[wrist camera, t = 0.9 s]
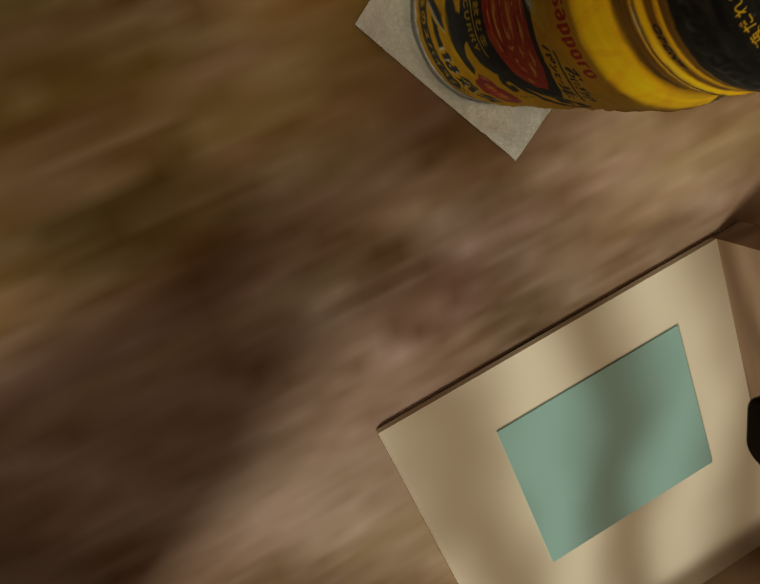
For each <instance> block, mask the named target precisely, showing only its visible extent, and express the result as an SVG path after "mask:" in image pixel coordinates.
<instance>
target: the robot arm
mask: <svg viewBox="0 0 760 584" xmlns="http://www.w3.org/2000/svg"><path fill="white" fill-rule="evenodd" d="M746 443H747V447H748V449H749V452H750V453H751V455H752V457H753V458H754V459H755V460H756V461H757V463H758V464H759V465H760V395H759V396H756V397H754V398H752V399H751V400H750V402H749V403H748V407H747V434H746Z"/></svg>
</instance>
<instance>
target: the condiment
mask: <svg viewBox="0 0 760 584" xmlns="http://www.w3.org/2000/svg"><path fill="white" fill-rule="evenodd" d="M355 25H356V26H357V27H359V28H360V29H361V30H362V31H363V32H364V33H365V34H367V35H368V36H369V37H370V38H371V39H373V40H374V41H375V42H376V43H377V44H378V45H380V46H381V47H382V48H383V49H384V50H385V51H386V52H387V53H389V54H390V55H391V56H392V57H394V58H395V59H396V60H397V61H398V62H399V63H400V64H401V65H403V66H404V67H405V68H406V69H407V70H408V71H410V72H411V73H412V74H413V75H414V76H415V77H417V78H418V79H419V80H420V81H421V82H422V83H424V84H425V85H426V86H427V87H428V88H429V89H431V90H432V91H433V92H434V93H435V94H437V95H438V96H439V97H440V98H441V99H443V100H444V101H445V102H446V103H447V104H449V105H450V106H451V107H452V108H453V109H455V110H456V111H457V112H458V113H459V114H460V115H462V116H463V117H464V118H465V119H466V120H468V121H469V122H470V123H471V124H472V125H474V126H475V127H476V128H478V129H479V130H480V131H481V132H482V133H484V134H486V135H487V136H488V137H489V138H490V139H491V140H492V141H493V142H495V143H496V144H497V145H498V146H499V147H501V148H502V149H503V150H504V151H505V152H506V153H508V154H509V155H510V156H511V157H512V158H513V159H514V160H517V158H518V157H519V156H520V154H521V153H522V151H523V150H524V149H525V147H526V146H527V144H528V143H529V141H530V140H531V138H532V137H533V135H534V134H535V132H536V131H537V129H538V128H539V126H540V125H541V123H542V122H543V120H544V119H545V117H546V116H547V115H548V113H549V112H550V111H551V110H552V108H555V109H564V108H565V109H573V108H587V109H590V110H595V109H603V110H606V111H613V110H616V111H621V112H631V111H639V112H640V111H650V110H651V111H662V112H673V111H678V110H685V109H691V108H694V107H697V106H701V105H705V104H708V103H711V102H713V101H715V100H718V99H720V98H722V97H724V96H735V95H742V94H751V93H754V92H760V0H370V1H369V3H368V4H367V6H366V7H365V9H364V10H363V12H362V13H361V15H360V17H359V18H358V20H357V22H356V23H355Z"/></svg>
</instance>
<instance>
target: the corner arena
mask: <svg viewBox="0 0 760 584" xmlns="http://www.w3.org/2000/svg"><path fill="white" fill-rule="evenodd" d="M759 395H760V225H756V224H752V223H748V222H744V221H738V222H737V223H735V224H733V225H731V226H730V227H728V228H726V229H724V230H723V231H721V232H719V233H717V234H716V235H714V236H712V237H710V238H709V239H707V240H705V241H704V242H702V243H700V244H698V245H697V246H695V247H693V248H691V249H690V250H688V251H686V252H684V253H683V254H681V255H679V256H677V257H676V258H674V259H672V260H670V261H669V262H667V263H665V264H663V265H662V266H660V267H658V268H656V269H655V270H653V271H651V272H650V273H648V274H646V275H644V276H643V277H641V278H639V279H637V280H636V281H634V282H632V283H630V284H629V285H627V286H625V287H623V288H622V289H620V290H618V291H616V292H615V293H613V294H611V295H609V296H608V297H606V298H604V299H603V300H601V301H599V302H597V303H596V304H594V305H592V306H590V307H589V308H587V309H585V310H583V311H582V312H580V313H578V314H576V315H575V316H573V317H571V318H569V319H568V320H566V321H564V322H562V323H561V324H559V325H557V326H556V327H554V328H552V329H550V330H549V331H547V332H545V333H543V334H542V335H540V336H538V337H536V338H535V339H533V340H531V341H529V342H528V343H526V344H524V345H522V346H521V347H519V348H517V349H515V350H514V351H512V352H510V353H509V354H507V355H505V356H503V357H502V358H500V359H498V360H496V361H495V362H493V363H491V364H489V365H488V366H486V367H484V368H482V369H481V370H479V371H477V372H475V373H474V374H472V375H470V376H468V377H467V378H465V379H463V380H462V381H460V382H458V383H456V384H455V385H453V386H451V387H449V388H448V389H446V390H444V391H442V392H441V393H439V394H437V395H435V396H434V397H432V398H430V399H428V400H427V401H425V402H423V403H421V404H420V405H418V406H416V407H414V408H413V409H411V410H409V411H408V412H406V413H404V414H402V415H401V416H399V417H397V418H395V419H394V420H392V421H390V422H388V423H387V424H385V425H383V426H381V427H380V428H378V429H376V430H377V432H378V434H379V436H380V438H381V440H382V442H383V443H384V445H385V447H386V449H387V451H388V453H389V455H390V456H391V458H392V460H393V462H394V464H395V466H396V468H397V470H398V471H399V473H400V475H401V477H402V479H403V481H404V483H405V485H406V486H407V488H408V490H409V492H410V494H411V496H412V498H413V500H414V501H415V503H416V505H417V507H418V509H419V511H420V513H421V514H422V516H423V518H424V520H425V522H426V524H427V526H428V528H429V529H430V531H431V533H432V535H433V537H434V539H435V541H436V543H437V544H438V546H439V548H440V550H441V552H442V554H443V556H444V558H445V559H446V561H447V563H448V565H449V567H450V569H451V571H452V573H453V574H454V576H455V578H456V580H457V582H458V584H760V465H759V464H758V463H757V461H756V460H755V459H754V458H753V457H752V455H751V453H750V452H749V449H748V447H747V443H746V434H747V407H748V403H749V402H750V400H751V399H752V398H754V397H756V396H759Z"/></svg>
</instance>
